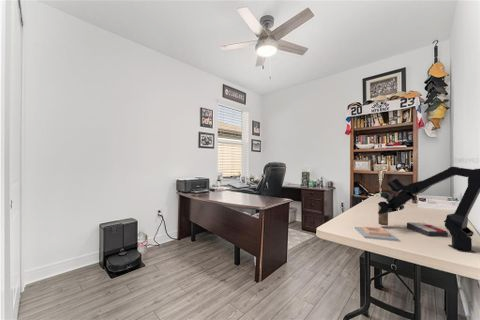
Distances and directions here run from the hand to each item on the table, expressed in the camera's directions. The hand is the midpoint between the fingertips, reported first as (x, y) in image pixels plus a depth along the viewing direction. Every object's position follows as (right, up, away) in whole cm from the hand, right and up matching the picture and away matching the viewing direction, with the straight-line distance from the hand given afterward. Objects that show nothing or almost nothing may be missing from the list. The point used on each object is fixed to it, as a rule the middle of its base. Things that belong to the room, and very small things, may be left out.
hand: (380, 213), depth 125 cm
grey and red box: (+21, -10, -8) cm, 25 cm away
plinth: (-13, -8, -14) cm, 21 cm away
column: (0, -7, -1) cm, 7 cm away
